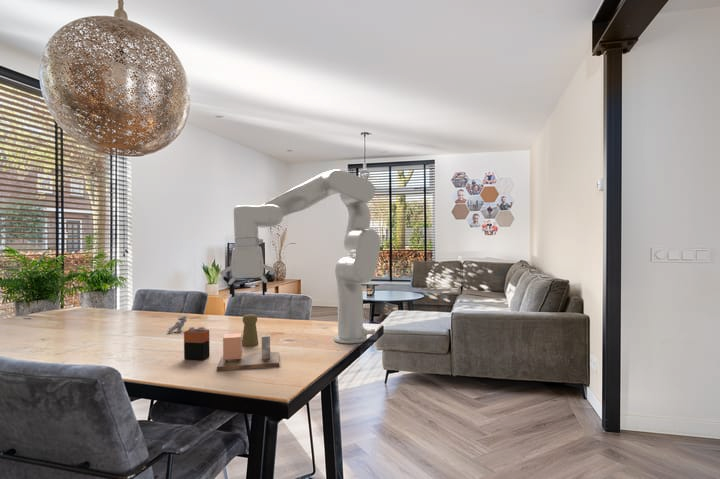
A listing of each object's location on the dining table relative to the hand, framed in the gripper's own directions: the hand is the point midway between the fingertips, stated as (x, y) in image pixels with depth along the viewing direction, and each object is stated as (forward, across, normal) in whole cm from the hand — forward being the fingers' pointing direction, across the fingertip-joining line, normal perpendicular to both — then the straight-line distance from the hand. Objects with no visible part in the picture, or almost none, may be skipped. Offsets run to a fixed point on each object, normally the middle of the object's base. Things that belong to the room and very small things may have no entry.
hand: (248, 295), depth 135 cm
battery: (+20, +17, -2) cm, 26 cm away
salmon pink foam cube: (+18, +5, +7) cm, 20 cm away
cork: (+20, +1, -16) cm, 26 cm away
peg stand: (+20, 0, +7) cm, 21 cm away
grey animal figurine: (+20, +30, -46) cm, 59 cm away
